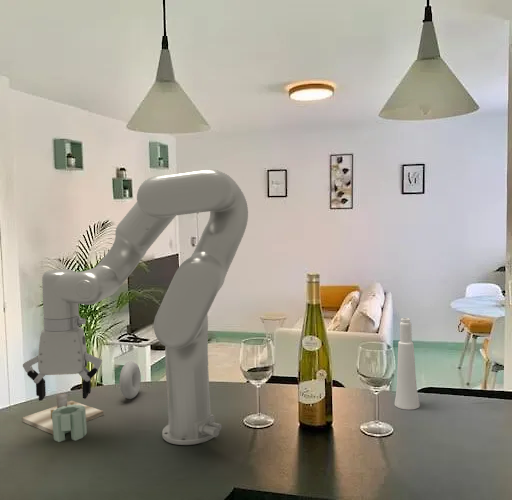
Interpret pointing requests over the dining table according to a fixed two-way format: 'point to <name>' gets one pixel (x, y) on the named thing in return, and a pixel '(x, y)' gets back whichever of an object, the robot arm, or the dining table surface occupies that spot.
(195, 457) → the dining table surface
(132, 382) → the donut
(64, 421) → the collar
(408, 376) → the cosmetic bottle
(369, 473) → the dining table surface
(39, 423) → the post base
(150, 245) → the robot arm
